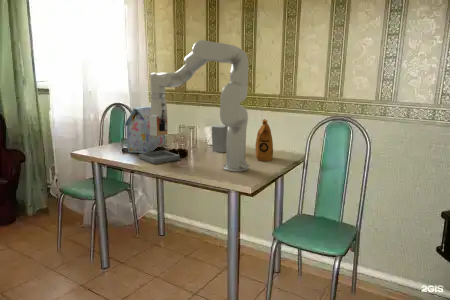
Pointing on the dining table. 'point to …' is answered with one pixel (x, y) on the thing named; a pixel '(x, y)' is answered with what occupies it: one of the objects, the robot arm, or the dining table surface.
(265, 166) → the dining table surface
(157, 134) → the small box
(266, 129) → the coffee package
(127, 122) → the lunch bag
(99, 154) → the dining table surface
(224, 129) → the skincare box
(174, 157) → the tray
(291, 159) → the dining table surface
